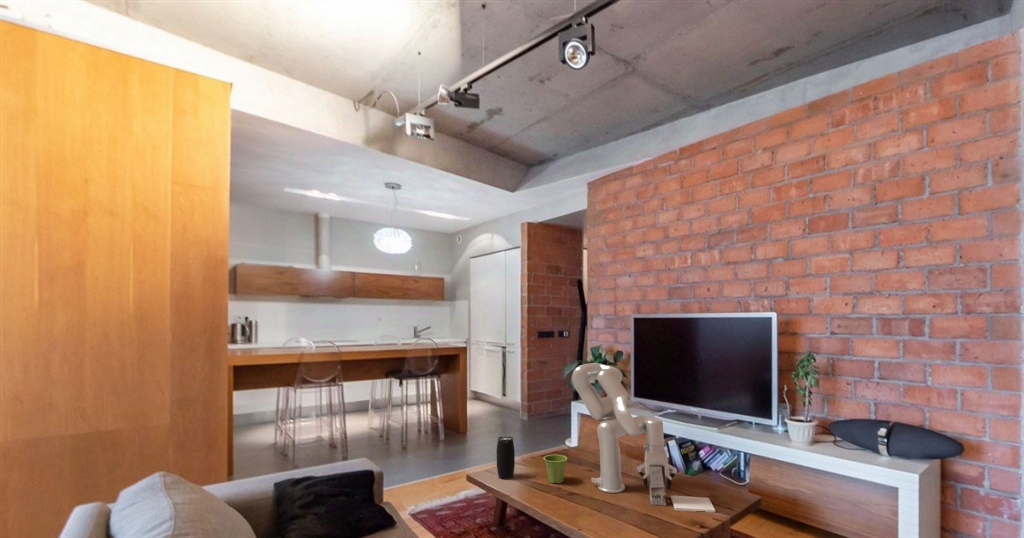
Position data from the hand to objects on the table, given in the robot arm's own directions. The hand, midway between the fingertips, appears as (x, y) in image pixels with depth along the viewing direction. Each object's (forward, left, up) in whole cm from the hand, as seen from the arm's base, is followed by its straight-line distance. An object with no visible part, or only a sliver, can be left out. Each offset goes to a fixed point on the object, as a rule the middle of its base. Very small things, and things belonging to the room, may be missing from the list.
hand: (657, 487), depth 202 cm
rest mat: (+14, -2, -6) cm, 15 cm away
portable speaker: (-73, +19, -6) cm, 76 cm away
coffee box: (0, 0, -6) cm, 6 cm away
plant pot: (-47, +17, -6) cm, 51 cm away
